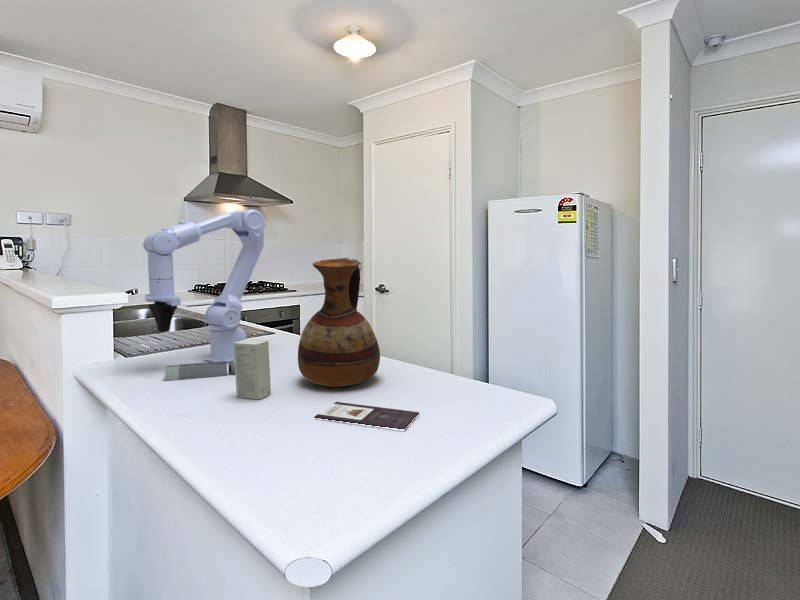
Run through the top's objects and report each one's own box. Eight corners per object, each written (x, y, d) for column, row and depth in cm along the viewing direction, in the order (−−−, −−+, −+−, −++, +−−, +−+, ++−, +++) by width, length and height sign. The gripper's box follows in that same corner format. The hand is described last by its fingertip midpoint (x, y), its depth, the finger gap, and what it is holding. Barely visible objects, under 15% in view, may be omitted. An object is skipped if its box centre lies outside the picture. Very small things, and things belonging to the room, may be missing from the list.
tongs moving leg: (227, 374, 119) (226, 362, 119) (227, 375, 118) (226, 364, 117) (166, 379, 114) (165, 367, 114) (165, 380, 113) (164, 368, 112)
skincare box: (271, 394, 103) (270, 340, 101) (259, 400, 99) (257, 344, 97) (247, 391, 105) (246, 338, 104) (234, 397, 101) (232, 342, 99)
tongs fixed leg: (241, 370, 122) (241, 358, 122) (242, 374, 119) (241, 361, 119) (167, 376, 116) (166, 363, 116) (165, 380, 113) (164, 366, 113)
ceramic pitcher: (284, 390, 106) (281, 258, 102) (315, 368, 126) (314, 256, 122) (368, 395, 102) (368, 259, 99) (386, 372, 122) (387, 257, 119)
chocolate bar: (404, 429, 82) (314, 416, 88) (404, 434, 83) (314, 421, 88) (419, 412, 91) (336, 401, 97) (419, 416, 91) (336, 406, 97)
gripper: (132, 278, 121) (135, 330, 122) (159, 281, 112) (162, 336, 114) (159, 277, 126) (162, 326, 128) (187, 279, 118) (189, 332, 119)
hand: (164, 331), depth 121 cm, fingers closed
